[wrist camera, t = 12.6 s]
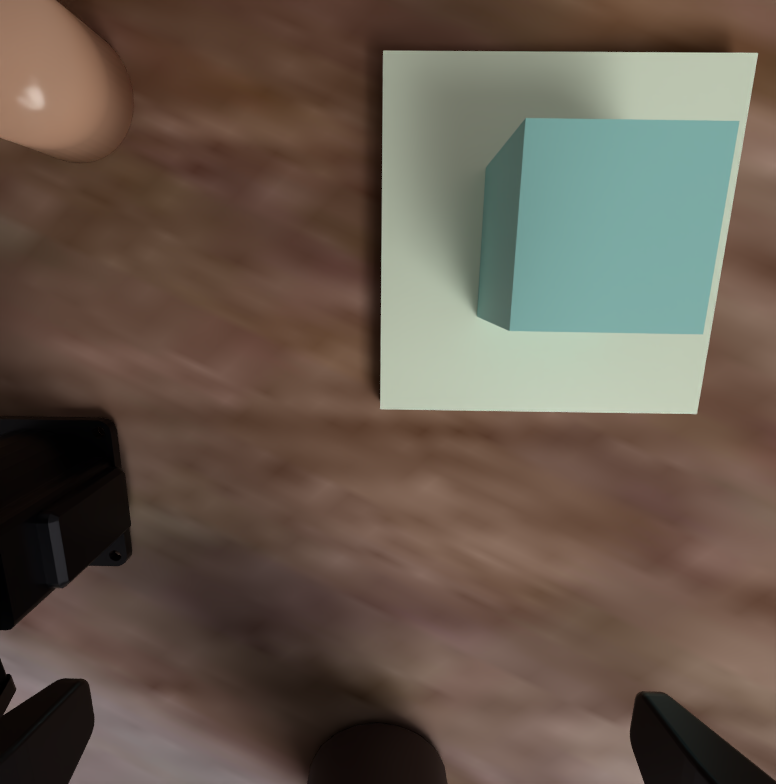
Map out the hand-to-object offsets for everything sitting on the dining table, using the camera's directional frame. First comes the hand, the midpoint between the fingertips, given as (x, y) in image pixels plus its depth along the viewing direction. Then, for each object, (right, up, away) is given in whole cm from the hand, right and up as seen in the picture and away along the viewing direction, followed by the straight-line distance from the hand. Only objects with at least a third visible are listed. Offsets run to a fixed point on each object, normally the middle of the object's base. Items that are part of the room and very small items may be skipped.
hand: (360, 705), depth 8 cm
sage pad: (+6, +10, +10) cm, 16 cm away
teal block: (+6, +10, +9) cm, 15 cm away
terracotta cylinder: (-11, +16, +9) cm, 21 cm away
